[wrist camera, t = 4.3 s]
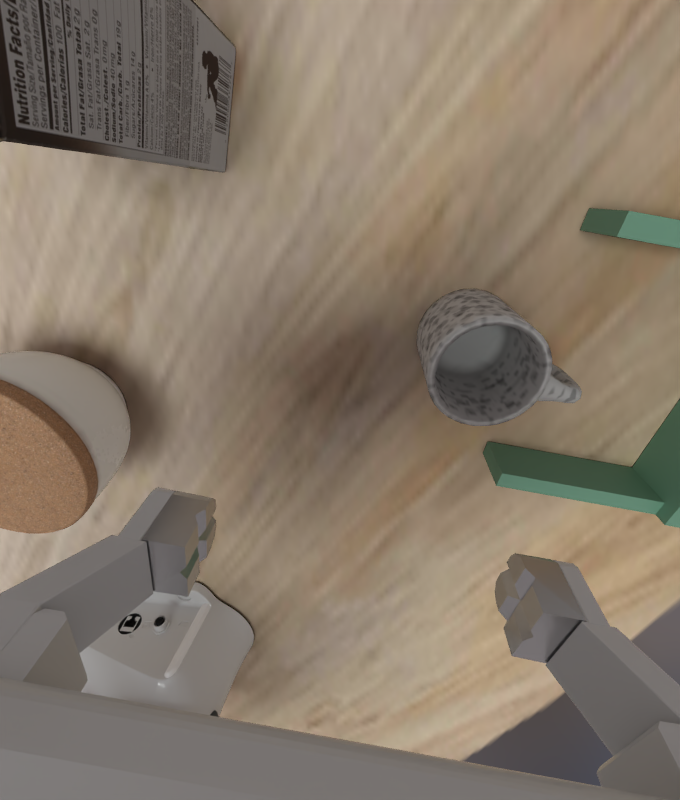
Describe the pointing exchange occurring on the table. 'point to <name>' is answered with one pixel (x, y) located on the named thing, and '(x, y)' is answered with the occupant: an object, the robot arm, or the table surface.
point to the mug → (486, 360)
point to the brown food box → (117, 79)
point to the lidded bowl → (56, 439)
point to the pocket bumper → (592, 480)
